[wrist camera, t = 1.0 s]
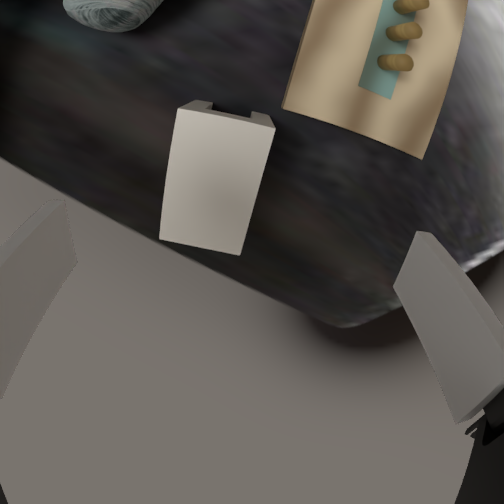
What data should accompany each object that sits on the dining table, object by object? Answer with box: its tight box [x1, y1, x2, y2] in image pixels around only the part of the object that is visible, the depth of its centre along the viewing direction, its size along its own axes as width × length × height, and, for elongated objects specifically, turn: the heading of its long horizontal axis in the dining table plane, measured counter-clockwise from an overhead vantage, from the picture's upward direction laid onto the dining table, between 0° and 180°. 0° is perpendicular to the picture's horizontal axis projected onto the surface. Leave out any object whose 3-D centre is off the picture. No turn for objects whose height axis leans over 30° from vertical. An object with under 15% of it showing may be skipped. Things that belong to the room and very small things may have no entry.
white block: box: [159, 100, 276, 255], centre depth 23 cm, size 6×10×7 cm, turn 166°
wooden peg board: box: [281, 0, 468, 160], centre depth 17 cm, size 14×20×6 cm
